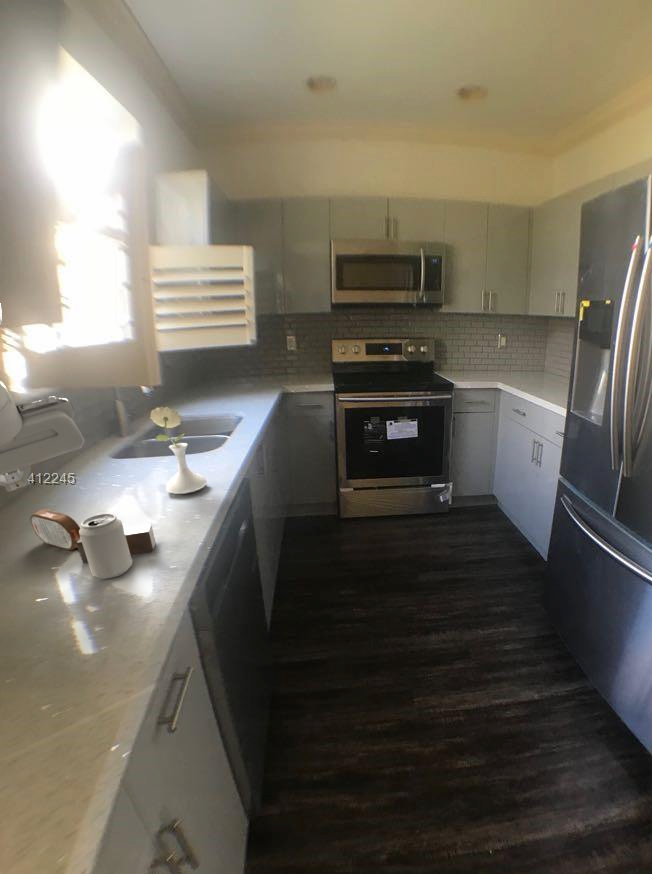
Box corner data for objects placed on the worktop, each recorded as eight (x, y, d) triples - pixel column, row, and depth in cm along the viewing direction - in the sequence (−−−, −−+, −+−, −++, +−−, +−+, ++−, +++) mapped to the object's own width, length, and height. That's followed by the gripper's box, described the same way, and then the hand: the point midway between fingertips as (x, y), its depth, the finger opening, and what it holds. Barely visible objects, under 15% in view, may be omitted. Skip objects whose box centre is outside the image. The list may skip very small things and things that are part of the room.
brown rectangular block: (82, 563, 98) (76, 543, 97) (87, 554, 102) (81, 534, 100) (153, 551, 102) (148, 531, 100) (155, 543, 106) (151, 523, 104)
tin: (89, 548, 105) (78, 515, 101) (75, 555, 102) (64, 521, 99) (48, 536, 111) (37, 505, 107) (35, 543, 108) (23, 510, 105)
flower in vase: (215, 483, 140) (200, 402, 131) (192, 498, 130) (174, 412, 120) (178, 481, 143) (161, 402, 134) (153, 495, 133) (133, 410, 124)
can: (88, 571, 95) (72, 519, 91) (127, 557, 100) (113, 507, 96) (98, 585, 90) (81, 531, 86) (138, 570, 95) (124, 518, 91)
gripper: (58, 379, 64) (85, 446, 75) (-140, 429, 53) (-75, 499, 64) (76, 407, 62) (101, 471, 72) (-127, 465, 51) (-62, 532, 61)
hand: (17, 485), depth 68 cm, fingers closed
